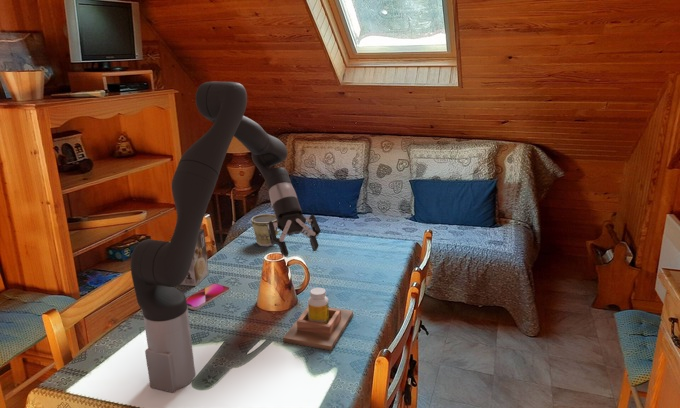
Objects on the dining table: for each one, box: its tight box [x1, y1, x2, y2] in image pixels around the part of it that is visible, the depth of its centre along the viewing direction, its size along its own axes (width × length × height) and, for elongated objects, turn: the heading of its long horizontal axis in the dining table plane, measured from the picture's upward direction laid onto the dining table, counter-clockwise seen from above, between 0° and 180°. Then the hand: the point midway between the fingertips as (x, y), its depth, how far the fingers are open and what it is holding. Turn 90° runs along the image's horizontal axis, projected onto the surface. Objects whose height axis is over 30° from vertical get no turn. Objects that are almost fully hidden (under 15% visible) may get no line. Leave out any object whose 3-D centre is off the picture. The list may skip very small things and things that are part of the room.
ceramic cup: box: [251, 213, 282, 247], centre depth 192 cm, size 13×10×10 cm
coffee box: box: [179, 228, 210, 287], centre depth 163 cm, size 9×6×16 cm
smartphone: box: [186, 283, 231, 311], centre depth 154 cm, size 7×1×15 cm
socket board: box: [282, 306, 354, 351], centre depth 136 cm, size 18×13×4 cm
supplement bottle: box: [307, 287, 329, 324], centre depth 135 cm, size 5×5×10 cm
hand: (301, 252), depth 141 cm, fingers open, 8 cm apart
